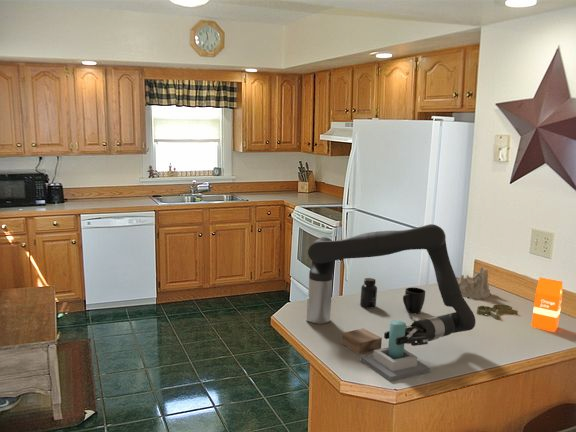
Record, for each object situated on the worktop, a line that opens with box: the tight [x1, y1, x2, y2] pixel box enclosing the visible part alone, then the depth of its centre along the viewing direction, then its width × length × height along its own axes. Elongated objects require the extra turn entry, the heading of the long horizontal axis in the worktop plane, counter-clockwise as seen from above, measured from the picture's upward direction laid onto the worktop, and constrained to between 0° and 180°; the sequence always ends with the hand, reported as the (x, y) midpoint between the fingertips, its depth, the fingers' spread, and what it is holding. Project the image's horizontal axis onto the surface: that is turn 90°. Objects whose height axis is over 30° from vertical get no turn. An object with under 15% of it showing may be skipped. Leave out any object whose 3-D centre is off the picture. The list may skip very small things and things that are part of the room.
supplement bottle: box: [359, 277, 378, 309], centre depth 239 cm, size 7×7×12 cm
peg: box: [388, 320, 407, 360], centre depth 180 cm, size 5×5×12 cm
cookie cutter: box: [476, 303, 519, 320], centre depth 239 cm, size 18×12×2 cm, turn 122°
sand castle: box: [456, 266, 491, 300], centre depth 264 cm, size 16×16×15 cm
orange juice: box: [530, 277, 564, 333], centre depth 222 cm, size 8×9×20 cm
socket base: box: [359, 347, 431, 382], centre depth 181 cm, size 16×16×4 cm
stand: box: [340, 328, 383, 355], centre depth 197 cm, size 10×10×4 cm
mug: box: [402, 287, 426, 315], centre depth 233 cm, size 8×12×10 cm
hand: (391, 338), depth 179 cm, fingers closed on peg, 5 cm apart
